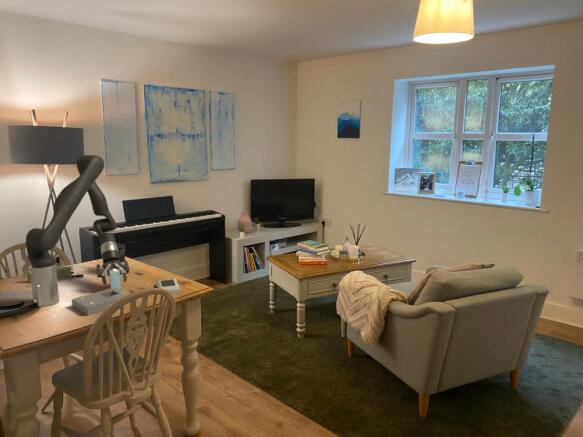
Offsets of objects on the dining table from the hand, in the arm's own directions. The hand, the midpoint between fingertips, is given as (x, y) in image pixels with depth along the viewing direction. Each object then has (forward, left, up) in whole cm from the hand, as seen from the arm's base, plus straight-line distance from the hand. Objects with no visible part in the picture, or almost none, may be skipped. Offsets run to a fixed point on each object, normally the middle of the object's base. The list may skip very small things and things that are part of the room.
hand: (115, 282), depth 210 cm
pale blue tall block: (0, +1, -5) cm, 5 cm away
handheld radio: (-11, +39, -5) cm, 40 cm away
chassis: (-12, -10, -5) cm, 16 cm away
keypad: (+18, -15, -5) cm, 24 cm away
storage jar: (+15, +27, -5) cm, 32 cm away
